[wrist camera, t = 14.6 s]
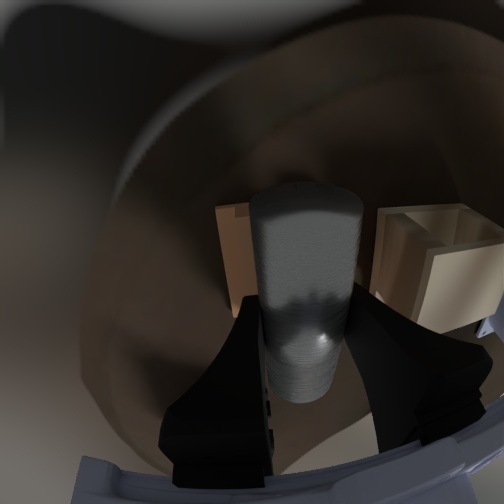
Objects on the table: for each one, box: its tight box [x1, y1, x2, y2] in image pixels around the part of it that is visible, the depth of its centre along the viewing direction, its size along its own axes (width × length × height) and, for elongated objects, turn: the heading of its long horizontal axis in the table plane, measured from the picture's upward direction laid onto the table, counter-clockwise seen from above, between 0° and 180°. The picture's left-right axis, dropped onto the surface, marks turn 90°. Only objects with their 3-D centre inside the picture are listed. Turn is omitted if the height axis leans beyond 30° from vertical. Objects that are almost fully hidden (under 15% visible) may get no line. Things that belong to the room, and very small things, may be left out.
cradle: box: [215, 202, 258, 317], centre depth 15 cm, size 7×7×2 cm
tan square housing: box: [369, 203, 504, 334], centre depth 14 cm, size 7×9×6 cm
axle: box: [248, 181, 364, 403], centre depth 11 cm, size 10×4×4 cm, turn 6°
